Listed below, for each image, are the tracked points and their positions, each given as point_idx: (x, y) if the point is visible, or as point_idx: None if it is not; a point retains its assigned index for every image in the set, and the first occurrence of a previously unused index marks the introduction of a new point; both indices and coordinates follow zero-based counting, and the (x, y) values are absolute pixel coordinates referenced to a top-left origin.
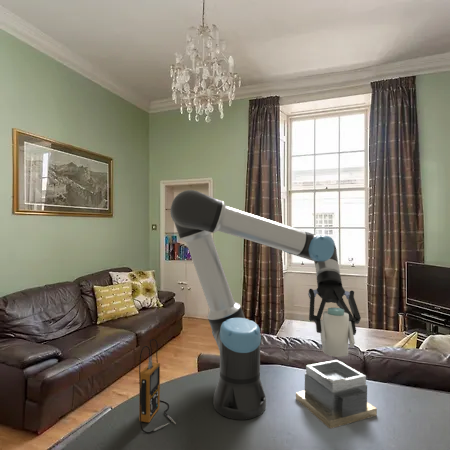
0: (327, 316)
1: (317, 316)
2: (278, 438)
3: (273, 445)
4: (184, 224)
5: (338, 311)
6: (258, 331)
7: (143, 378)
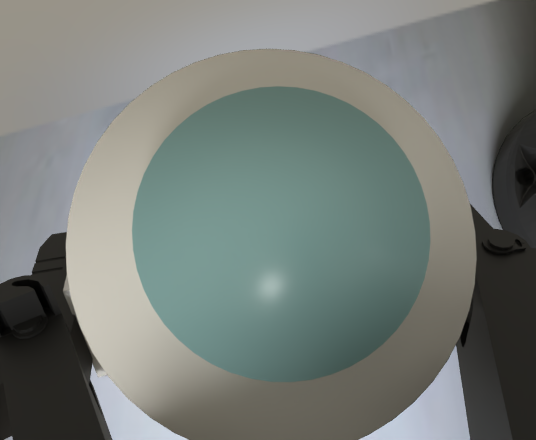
0: (394, 105)
1: (518, 253)
2: (414, 53)
3: (421, 20)
4: None
5: (242, 97)
6: None
7: None
